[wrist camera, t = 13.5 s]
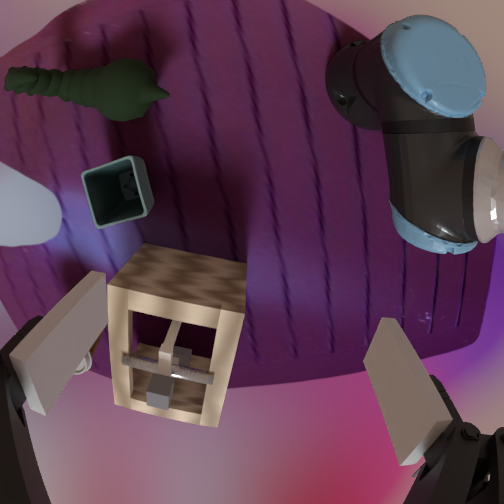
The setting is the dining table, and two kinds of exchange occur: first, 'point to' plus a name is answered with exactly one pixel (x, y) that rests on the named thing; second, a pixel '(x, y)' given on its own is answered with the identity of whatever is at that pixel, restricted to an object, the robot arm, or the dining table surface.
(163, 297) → the beige wooden frame
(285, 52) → the dining table surface
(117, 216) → the flower pot
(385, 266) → the dining table surface
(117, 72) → the dark green tiered figure
